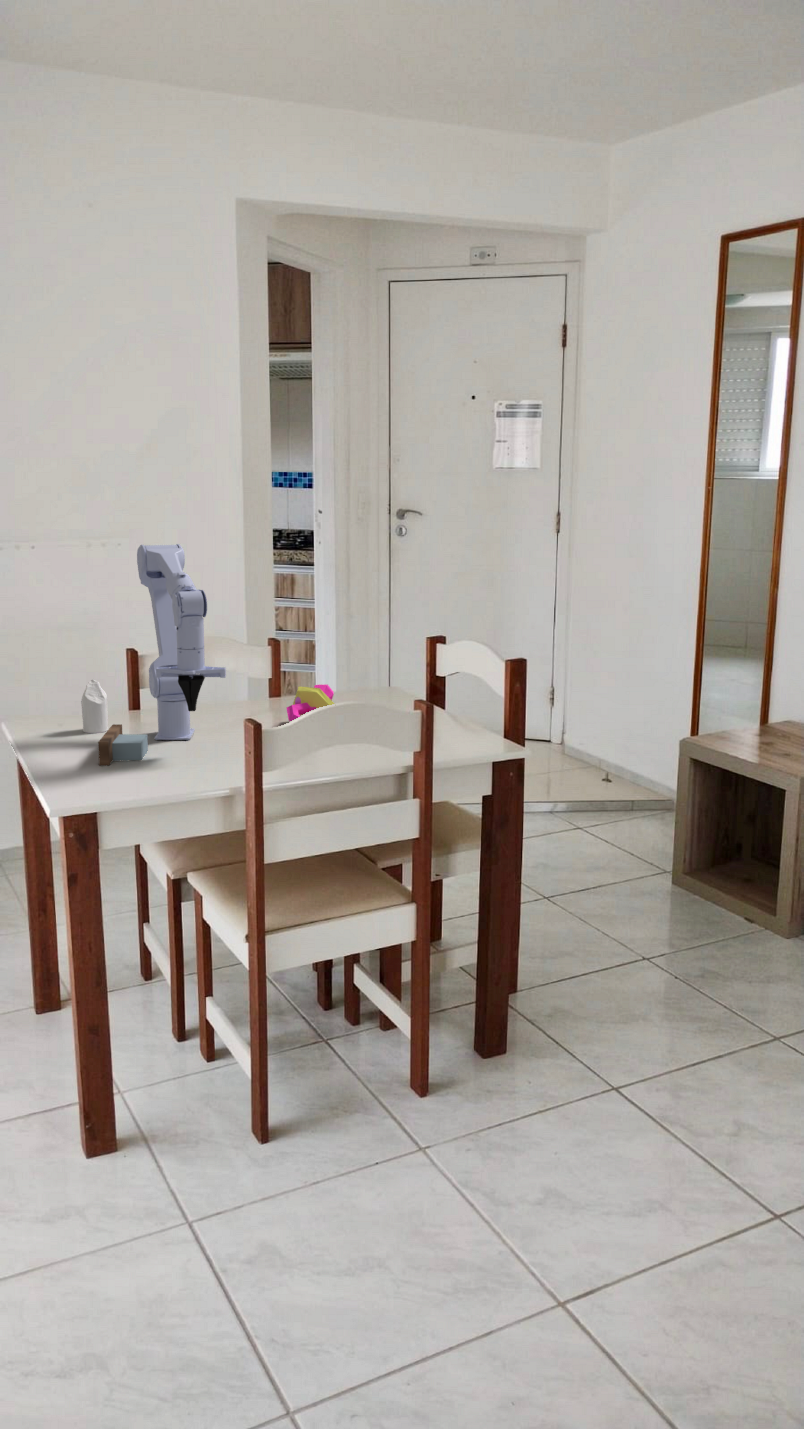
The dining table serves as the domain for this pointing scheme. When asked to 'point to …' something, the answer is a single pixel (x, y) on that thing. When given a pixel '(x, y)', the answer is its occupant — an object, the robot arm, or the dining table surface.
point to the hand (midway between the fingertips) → (192, 710)
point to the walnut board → (108, 744)
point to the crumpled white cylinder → (94, 708)
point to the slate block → (130, 747)
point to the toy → (309, 700)
